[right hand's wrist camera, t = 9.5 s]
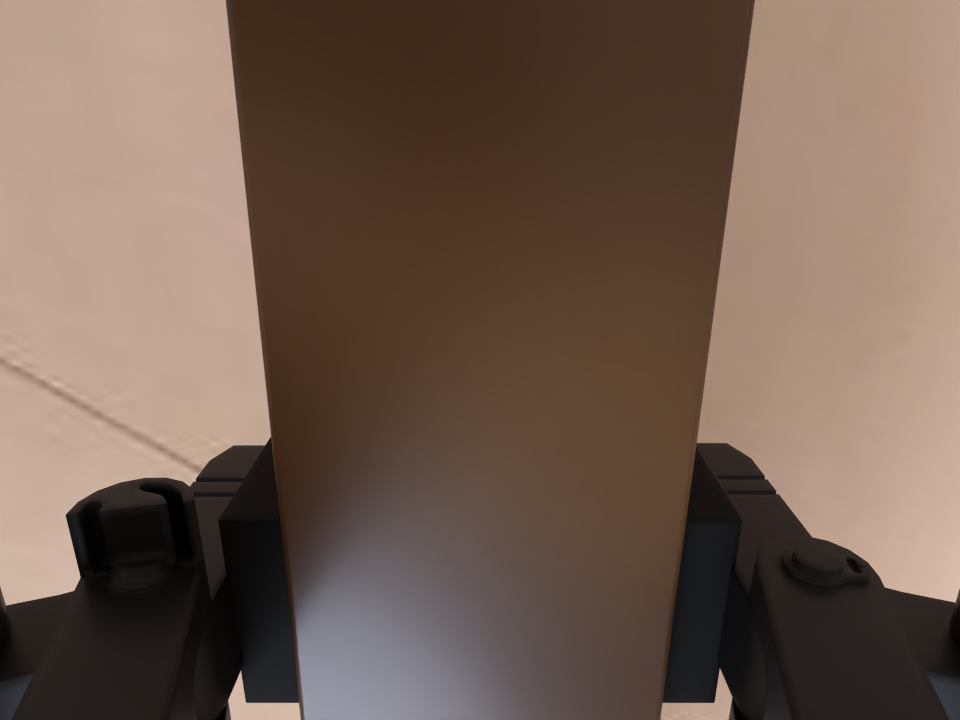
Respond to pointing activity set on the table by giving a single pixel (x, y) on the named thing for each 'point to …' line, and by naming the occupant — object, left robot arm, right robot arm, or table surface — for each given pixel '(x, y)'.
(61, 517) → the table surface
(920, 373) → the table surface
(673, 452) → the post
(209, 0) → the table surface
